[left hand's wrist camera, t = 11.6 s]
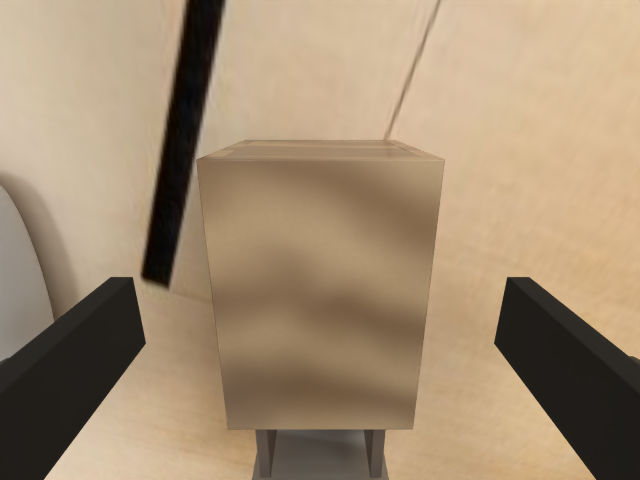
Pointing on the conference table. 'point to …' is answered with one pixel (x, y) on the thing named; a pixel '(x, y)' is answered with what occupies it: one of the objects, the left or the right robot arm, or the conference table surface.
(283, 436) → the drawer
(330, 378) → the cabinet
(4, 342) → the projector
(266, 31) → the conference table surface
